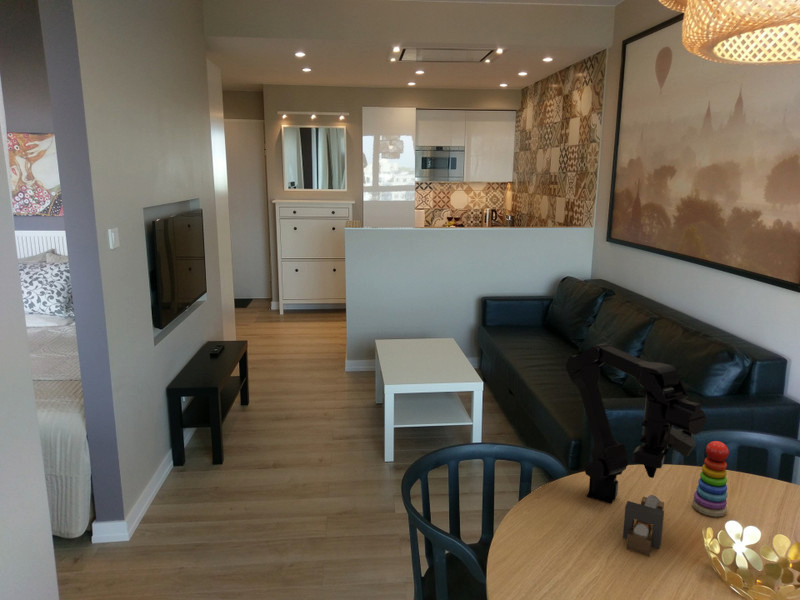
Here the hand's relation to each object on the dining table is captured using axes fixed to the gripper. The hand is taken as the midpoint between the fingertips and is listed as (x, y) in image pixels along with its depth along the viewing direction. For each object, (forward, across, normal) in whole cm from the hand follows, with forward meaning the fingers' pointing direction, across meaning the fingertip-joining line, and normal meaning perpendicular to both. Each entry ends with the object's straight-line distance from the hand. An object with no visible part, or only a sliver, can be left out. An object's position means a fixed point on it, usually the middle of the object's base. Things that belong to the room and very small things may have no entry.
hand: (651, 476), depth 138 cm
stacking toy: (+13, +16, -12) cm, 24 cm away
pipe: (+13, -4, 0) cm, 13 cm away
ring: (+13, -8, 0) cm, 15 cm away
